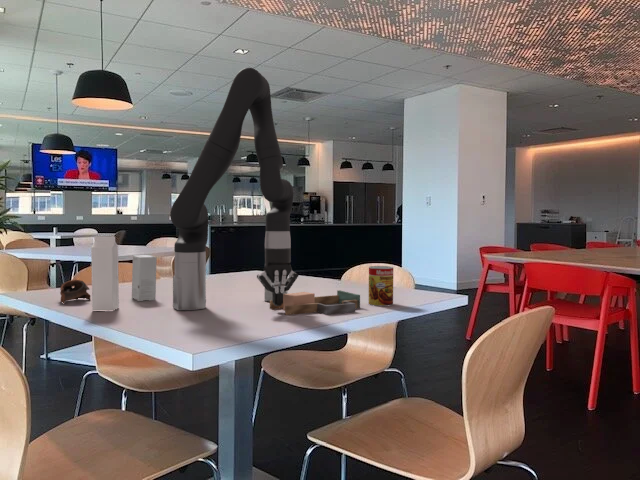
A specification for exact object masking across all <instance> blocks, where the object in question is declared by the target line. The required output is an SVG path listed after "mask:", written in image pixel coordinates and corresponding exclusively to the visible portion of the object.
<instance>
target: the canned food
mask: <svg viewBox="0 0 640 480" xmlns="http://www.w3.org/2000/svg"><path fill="white" fill-rule="evenodd" d="M369 304H370V305H369ZM368 305H369V306H373V305H374V306H375V307H389V306H388V305H391V306H393V305H394V267H393V266H388V265H374V266H368Z"/></svg>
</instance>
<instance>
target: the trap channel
mask: <svg viewBox="0 0 640 480" xmlns="http://www.w3.org/2000/svg"><path fill="white" fill-rule="evenodd" d="M336 291H337V292H336V294H335V295H334V294H333V295H321V296H315V303H311V304H300V305H288V306H285V310H284V314H285V316H289V315H290V316H291V315H301V314H311V313H319V314H322V315H325V316H327V315H337V314H347V313H355V312H356V309H360V308H361V294H357V293H352V292H350V291H349V292H348V291H344V290H336ZM269 309H270V310H277V309H283V304H282V305H281V306H275V305H274V304H273V302H272V300H270V301H269Z"/></svg>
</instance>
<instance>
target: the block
mask: <svg viewBox="0 0 640 480" xmlns="http://www.w3.org/2000/svg"><path fill="white" fill-rule="evenodd" d="M315 297H316V296H315V293H313V292H308V291H299V292H290V293H287V294H283V308H282V309H283V311H285V306H288V305H300V304H311V303H315Z"/></svg>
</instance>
